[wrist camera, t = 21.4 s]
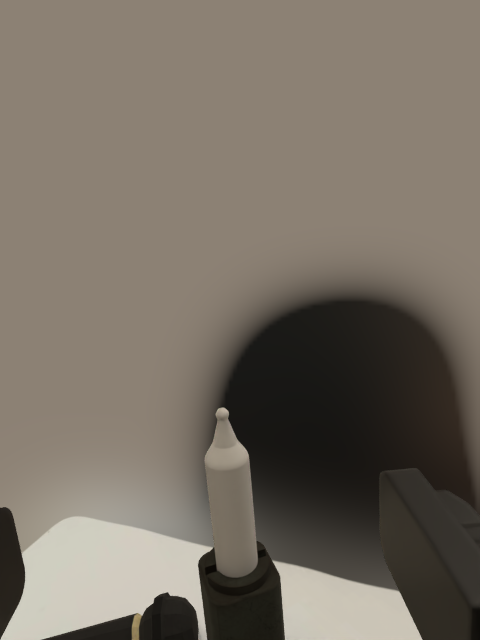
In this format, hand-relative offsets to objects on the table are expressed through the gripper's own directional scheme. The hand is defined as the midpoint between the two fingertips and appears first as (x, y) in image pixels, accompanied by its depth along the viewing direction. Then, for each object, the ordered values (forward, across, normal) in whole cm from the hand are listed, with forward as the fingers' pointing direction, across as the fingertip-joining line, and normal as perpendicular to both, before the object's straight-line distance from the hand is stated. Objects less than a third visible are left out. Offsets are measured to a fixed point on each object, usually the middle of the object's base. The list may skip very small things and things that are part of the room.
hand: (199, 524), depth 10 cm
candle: (+19, 0, +31) cm, 36 cm away
